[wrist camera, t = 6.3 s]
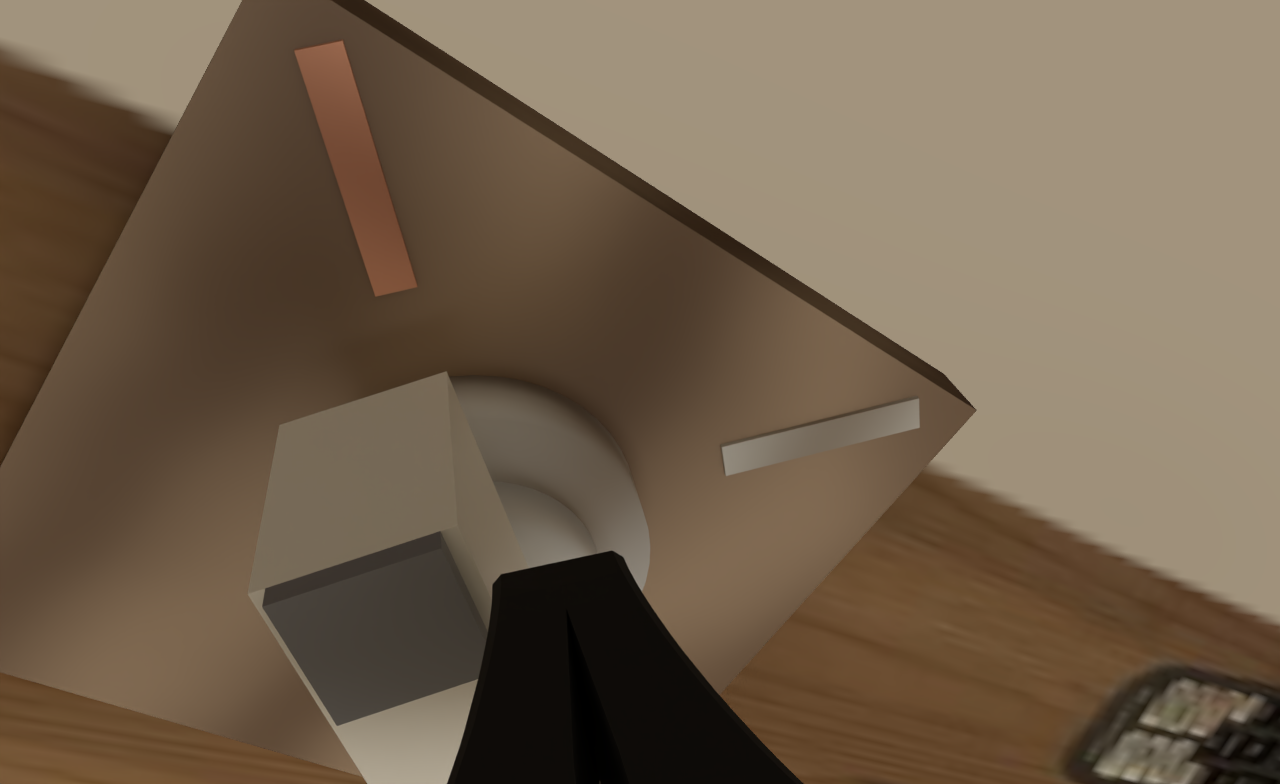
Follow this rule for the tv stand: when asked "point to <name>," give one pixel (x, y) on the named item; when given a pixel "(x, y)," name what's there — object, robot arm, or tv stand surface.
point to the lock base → (425, 374)
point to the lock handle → (395, 569)
